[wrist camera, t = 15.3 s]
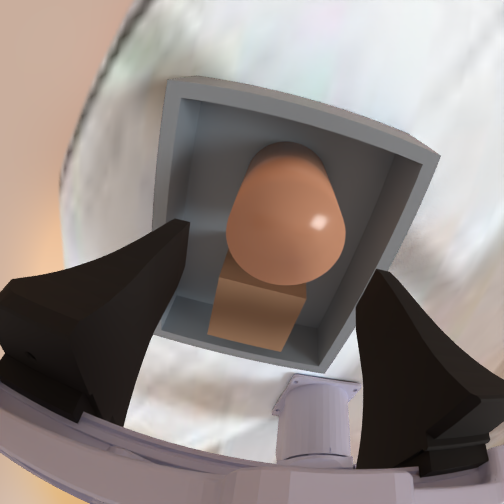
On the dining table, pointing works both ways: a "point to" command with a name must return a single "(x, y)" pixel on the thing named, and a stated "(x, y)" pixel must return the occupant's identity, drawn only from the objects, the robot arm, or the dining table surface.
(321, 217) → the terracotta cylinder
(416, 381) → the robot arm
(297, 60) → the dining table surface
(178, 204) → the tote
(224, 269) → the walnut block
